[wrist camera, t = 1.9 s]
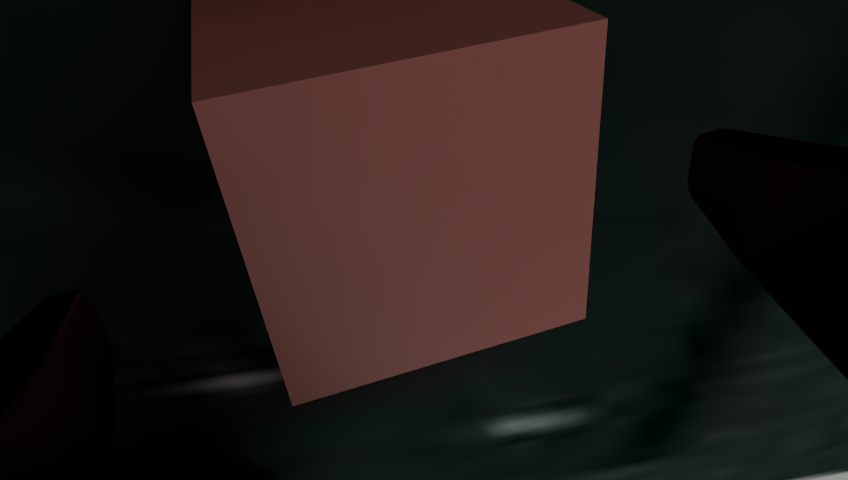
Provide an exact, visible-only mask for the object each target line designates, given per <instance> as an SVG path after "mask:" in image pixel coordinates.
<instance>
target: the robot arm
mask: <svg viewBox="0 0 848 480" xmlns="http://www.w3.org/2000/svg"><path fill="white" fill-rule="evenodd" d="M688 189H689V192H690V195H691V196H692V198H693V199H694V201H695V202H696V203H697V205H698V206H699V207H700V209H701V210H702V211H703V213H704V214H705V215H706V217H707V218H708V220H709V221H710V222H711V224H712V225H713V226H714V228H715V229H716V230H717V232H718V233H719V234H720V236H721V237H722V238H723V240H724V241H725V242H726V244H727V245H728V246H729V248H730V249H731V250H732V252H733V253H734V255H735V256H736V257H737V258H738V260H739V261H740V262H741V263H742V265H743V266H744V267H745V268H746V269H747V271H748V272H749V273H750V274H751V275H752V276H753V277H754V279H755V280H756V281H757V282H758V283H759V284H760V285H761V286H762V287H763V288H764V289H765V291H766V292H767V293H768V294H769V295H770V296H771V297H772V298H773V299H774V300H775V301H776V302H777V304H778V305H779V306H780V307H781V308H782V309H783V310H784V311H785V312H786V313H787V314H788V316H789V317H790V318H791V319H792V320H793V321H794V322H795V323H796V324H797V325H798V326H799V328H800V329H801V330H802V331H803V332H804V333H805V334H806V335H807V336H808V337H809V338H810V340H811V341H812V342H813V343H814V344H815V345H816V346H817V347H818V348H819V349H820V350H821V351H822V353H823V354H824V355H825V356H826V357H827V358H828V359H829V360H830V361H831V362H832V363H833V365H834V366H835V367H836V368H837V369H838V370H839V371H840V372H841V373H842V374H843V375H844V377H845V378H846V379H847V380H848V148H844V147H838V146H832V145H826V144H820V143H813V142H807V141H801V140H795V139H789V138H783V137H776V136H770V135H764V134H758V133H752V132H745V131H739V130H733V129H726V128H724V129H718V130H714V131H710V132H706V133H703V134H701V135H699V136H698V137H697V139H696V140H695V142H694V146H693V152H692V158H691V164H690V169H689V175H688ZM176 451H181V452H176ZM116 458H117V438H116V414H115V392H114V369H113V351H112V345H111V342H110V339H109V336H108V334H107V332H106V330H105V328H104V326H103V325H102V323H101V321H100V319H99V317H98V315H97V313H96V312H95V310H94V308H93V306H92V304H91V302H90V300H89V299H88V297H87V296H86V295H85V293H83V292H82V291H80V290H72V291H68V292H64V293H60V294H56V295H52V296H48V297H46V298H44V299H43V300H42V301H41V302H40V303H39V304H38V305H37V306H36V307H34V308H33V309H32V310H31V311H30V312H29V313H28V314H27V315H26V316H25V317H24V318H23V319H22V320H21V321H19V322H18V323H17V324H16V325H15V326H14V327H13V328H12V329H11V330H10V331H9V332H8V333H7V334H6V335H4V336H3V337H2V338H1V339H0V480H253V479H252V478H251V477H249V476H248V475H247V474H245V473H244V472H243V471H241V470H240V469H239V468H237V467H236V466H235V465H233V464H232V463H231V462H229V461H228V460H227V459H225V458H224V457H223V456H222V455H220V454H219V453H218V452H216V451H215V450H214V449H212V448H211V447H210V446H208V445H207V444H206V443H204V442H203V441H202V440H200V439H199V438H198V437H196V436H195V435H193V434H191V433H189V432H182V431H180V432H173V433H170V434H168V435H165V436H163V437H162V438H160V439H158V440H157V441H155V442H153V443H151V444H150V445H148V446H146V447H145V448H143V449H141V450H140V451H138V452H136V453H134V454H133V455H131V456H129V457H128V458H126V459H124V460H123V461H121V462H119V463H118V464H116Z"/></svg>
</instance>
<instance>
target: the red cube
mask: <svg viewBox="0 0 848 480" xmlns="http://www.w3.org/2000/svg"><path fill="white" fill-rule="evenodd" d="M607 24H608V18H606V17H604V16H602V15H600V14H597V13H595V12H593V11H591V10H589V9H587V8H585V7H583V6H581V5H579V4H577V3H574V2H572V1H570V0H191V82H192V105H193V108H194V111H195V114H196V117H197V120H198V123H199V126H200V129H201V132H202V135H203V138H204V141H205V144H206V147H207V150H208V153H209V156H210V159H211V162H212V165H213V168H214V171H215V174H216V177H217V180H218V183H219V186H220V189H221V192H222V195H223V198H224V201H225V204H226V207H227V210H228V213H229V216H230V219H231V222H232V225H233V228H234V231H235V234H236V237H237V241H238V244H239V247H240V250H241V253H242V256H243V259H244V262H245V265H246V268H247V271H248V274H249V277H250V280H251V283H252V286H253V289H254V292H255V295H256V298H257V301H258V304H259V307H260V310H261V313H262V316H263V319H264V322H265V325H266V328H267V331H268V334H269V337H270V340H271V343H272V346H273V349H274V352H275V355H276V358H277V361H278V364H279V367H280V370H281V373H282V376H283V379H284V382H285V385H286V388H287V391H288V394H289V397H290V400H291V403H292V406H296V405H299V404H302V403H306V402H309V401H312V400H316V399H319V398H322V397H326V396H329V395H332V394H336V393H339V392H342V391H346V390H349V389H352V388H356V387H359V386H362V385H365V384H369V383H372V382H375V381H379V380H382V379H385V378H389V377H392V376H395V375H399V374H402V373H405V372H409V371H412V370H415V369H419V368H422V367H425V366H429V365H432V364H435V363H439V362H442V361H445V360H449V359H452V358H455V357H459V356H462V355H465V354H469V353H472V352H475V351H479V350H482V349H485V348H489V347H492V346H495V345H499V344H502V343H505V342H509V341H512V340H515V339H519V338H522V337H525V336H528V335H532V334H535V333H538V332H542V331H545V330H548V329H552V328H555V327H558V326H562V325H565V324H568V323H572V322H575V321H578V320H582V319H585V317H586V303H587V290H588V277H589V263H590V250H591V237H592V223H593V210H594V197H595V183H596V170H597V157H598V144H599V130H600V117H601V104H602V90H603V77H604V64H605V50H606V37H607Z"/></svg>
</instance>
